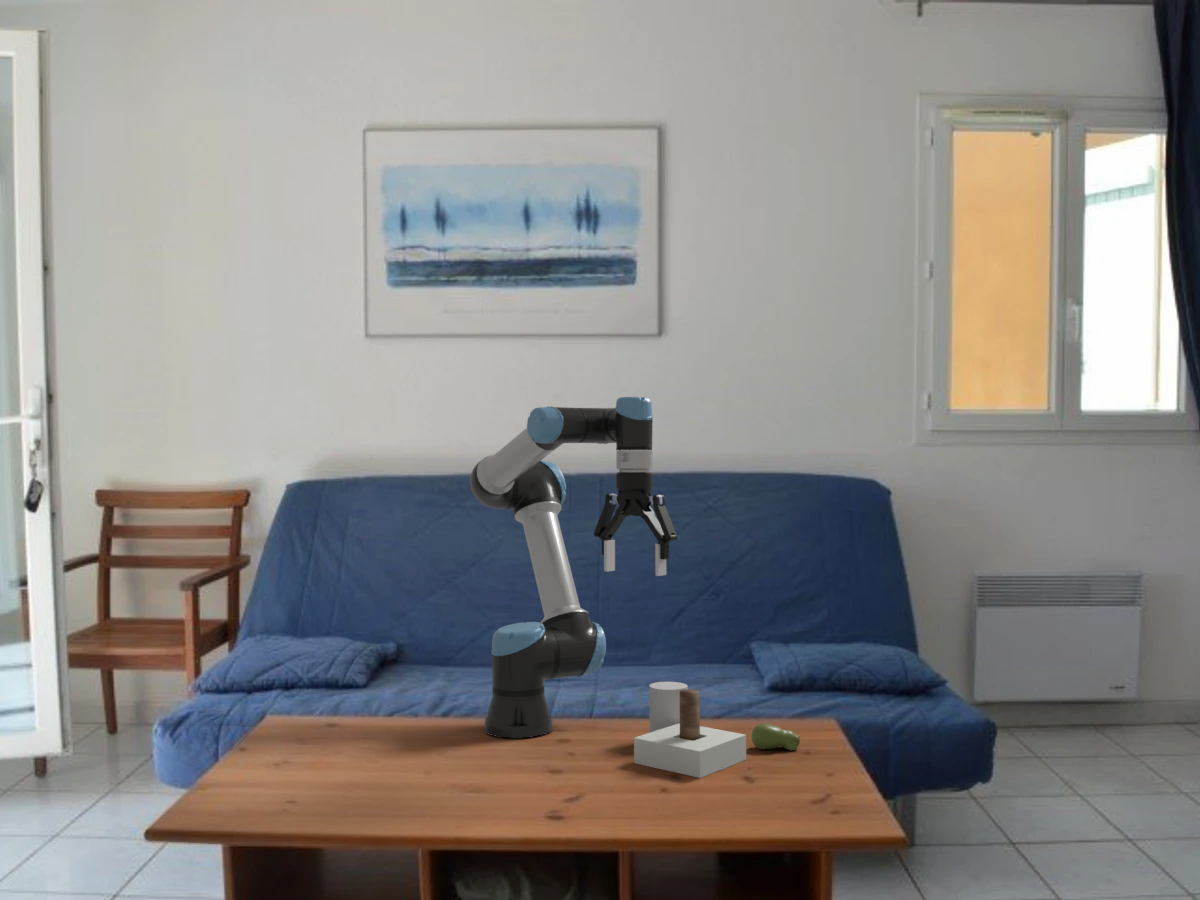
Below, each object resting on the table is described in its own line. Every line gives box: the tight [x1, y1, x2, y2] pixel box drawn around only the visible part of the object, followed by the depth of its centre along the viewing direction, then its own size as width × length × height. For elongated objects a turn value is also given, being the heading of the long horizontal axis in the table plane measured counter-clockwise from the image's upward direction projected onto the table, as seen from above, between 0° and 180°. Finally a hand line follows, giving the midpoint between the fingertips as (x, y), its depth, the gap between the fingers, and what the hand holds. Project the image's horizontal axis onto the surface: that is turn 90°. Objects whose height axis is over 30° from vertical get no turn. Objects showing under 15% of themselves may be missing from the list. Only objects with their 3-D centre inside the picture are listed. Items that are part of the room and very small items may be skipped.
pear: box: [751, 723, 801, 752], centre depth 227 cm, size 6×5×10 cm
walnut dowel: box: [680, 688, 701, 741], centre depth 218 cm, size 4×4×14 cm
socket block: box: [633, 723, 747, 779], centre depth 218 cm, size 16×16×5 cm
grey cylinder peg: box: [648, 681, 689, 733], centre depth 233 cm, size 8×8×12 cm
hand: (634, 573), depth 227 cm, fingers open, 13 cm apart
